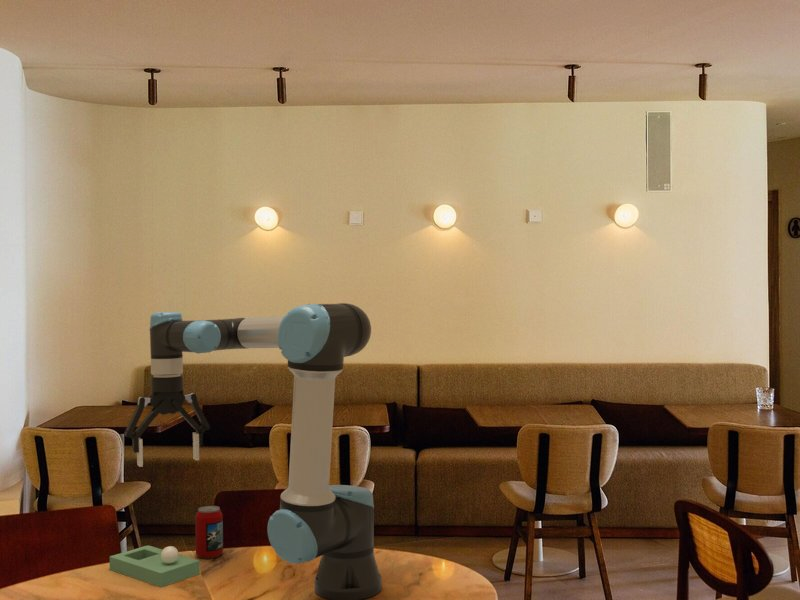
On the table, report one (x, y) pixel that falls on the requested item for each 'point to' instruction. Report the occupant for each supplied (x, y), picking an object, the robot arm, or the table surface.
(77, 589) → the table surface
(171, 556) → the ball
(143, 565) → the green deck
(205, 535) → the beverage can
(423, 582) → the table surface
